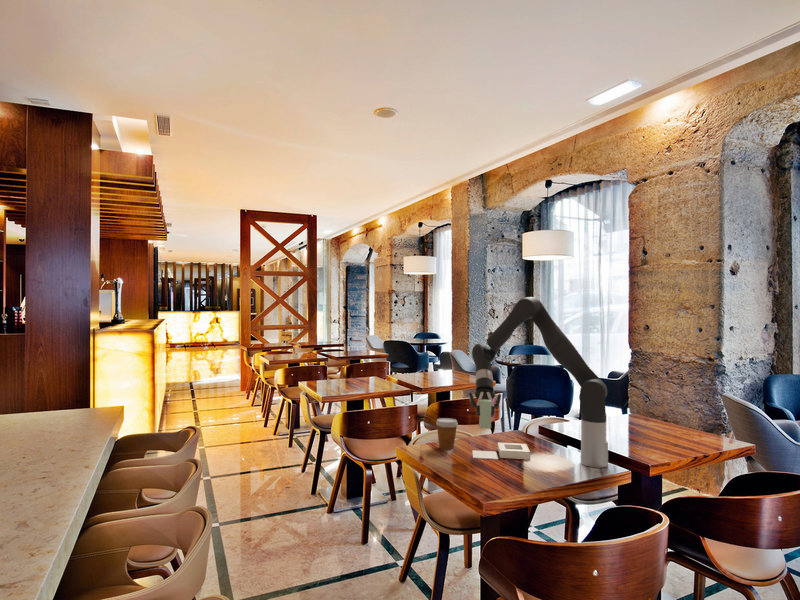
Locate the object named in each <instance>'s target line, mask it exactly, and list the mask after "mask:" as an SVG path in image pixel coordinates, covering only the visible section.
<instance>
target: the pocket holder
mask: <svg viewBox="0 0 800 600" xmlns="http://www.w3.org/2000/svg"><path fill="white" fill-rule="evenodd" d="M497 452H499V453H498V455H499V456H498V457H499V459H504V458H505V459H515V460H516V459H519V460H520V459H521V460H531V451H530V449H529V447H528V445H527V443H516V442H515V443H514V442H497Z"/></svg>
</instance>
